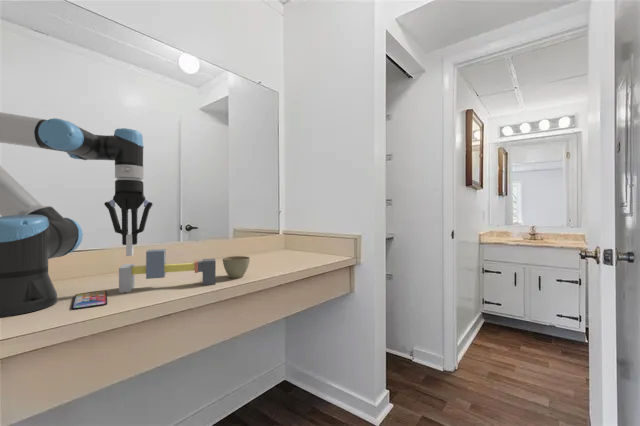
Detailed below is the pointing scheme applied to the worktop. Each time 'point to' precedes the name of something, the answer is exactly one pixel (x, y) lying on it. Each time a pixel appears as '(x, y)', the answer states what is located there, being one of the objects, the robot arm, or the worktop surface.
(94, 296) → the smartphone
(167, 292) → the worktop surface
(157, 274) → the sleeve
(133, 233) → the robot arm
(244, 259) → the flower pot
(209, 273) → the rail
